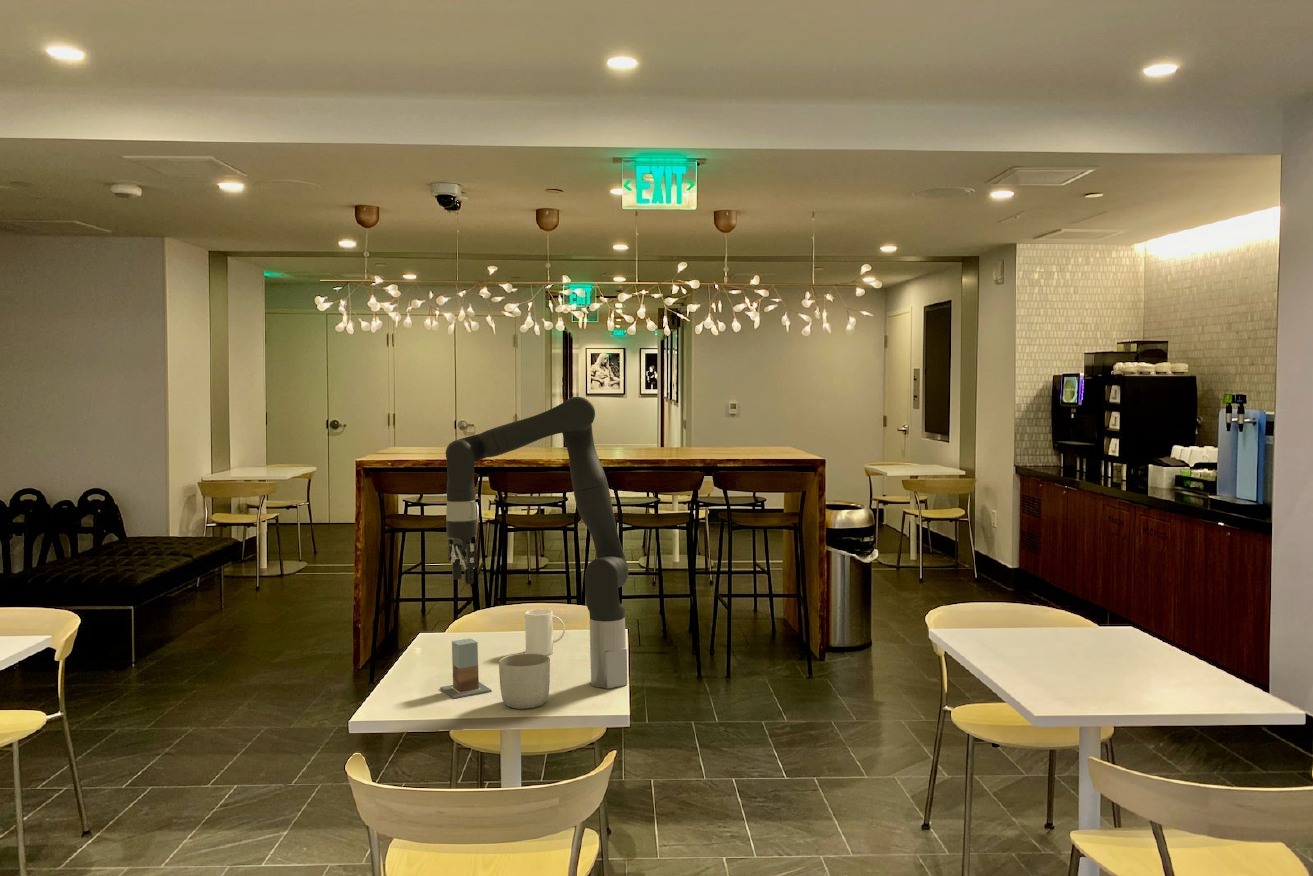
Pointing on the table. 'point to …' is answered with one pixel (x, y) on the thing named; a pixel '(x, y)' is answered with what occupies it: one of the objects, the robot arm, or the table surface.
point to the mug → (540, 631)
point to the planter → (524, 680)
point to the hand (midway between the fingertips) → (463, 581)
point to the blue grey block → (464, 653)
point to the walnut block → (465, 678)
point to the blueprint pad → (457, 694)
